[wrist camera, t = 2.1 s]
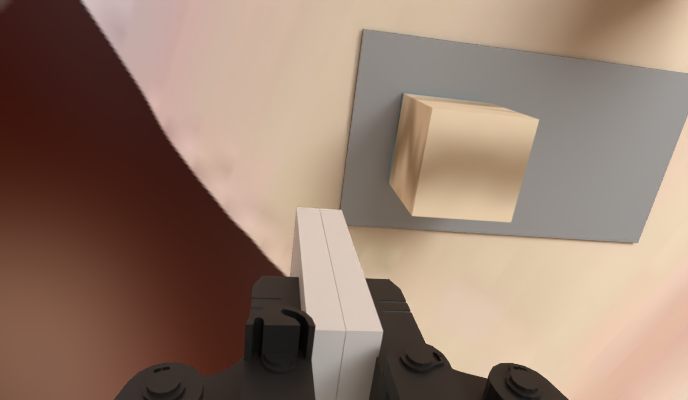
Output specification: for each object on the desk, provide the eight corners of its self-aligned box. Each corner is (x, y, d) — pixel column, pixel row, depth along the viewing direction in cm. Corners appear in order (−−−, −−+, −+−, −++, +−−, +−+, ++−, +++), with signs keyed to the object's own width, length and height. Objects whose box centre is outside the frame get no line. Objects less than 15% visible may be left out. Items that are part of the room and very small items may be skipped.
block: (402, 92, 33) (432, 107, 26) (489, 102, 34) (539, 119, 27) (387, 181, 35) (411, 215, 29) (469, 188, 36) (510, 222, 30)
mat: (363, 29, 31) (363, 29, 31) (699, 75, 36) (702, 75, 35) (338, 223, 36) (338, 224, 36) (635, 241, 41) (637, 242, 41)
